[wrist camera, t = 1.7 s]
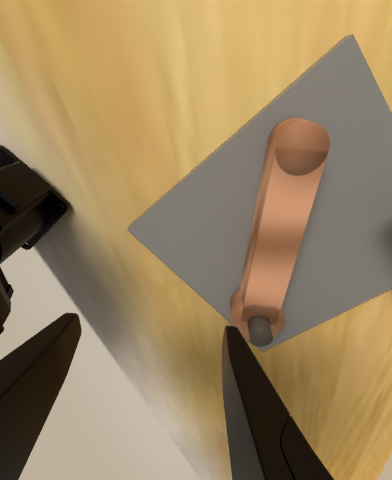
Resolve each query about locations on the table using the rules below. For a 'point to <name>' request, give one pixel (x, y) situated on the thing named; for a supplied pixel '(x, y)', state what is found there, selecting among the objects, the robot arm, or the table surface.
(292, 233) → the link
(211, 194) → the board
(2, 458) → the robot arm
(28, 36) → the table surface
